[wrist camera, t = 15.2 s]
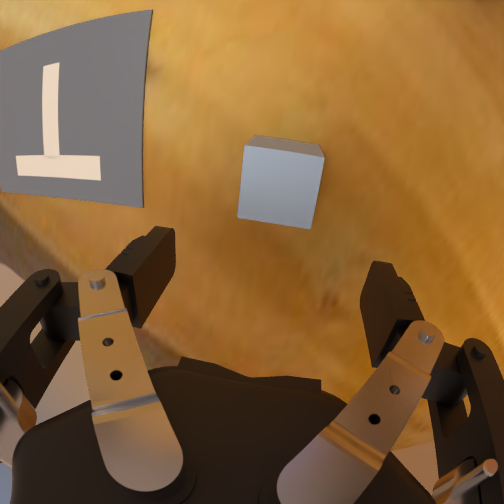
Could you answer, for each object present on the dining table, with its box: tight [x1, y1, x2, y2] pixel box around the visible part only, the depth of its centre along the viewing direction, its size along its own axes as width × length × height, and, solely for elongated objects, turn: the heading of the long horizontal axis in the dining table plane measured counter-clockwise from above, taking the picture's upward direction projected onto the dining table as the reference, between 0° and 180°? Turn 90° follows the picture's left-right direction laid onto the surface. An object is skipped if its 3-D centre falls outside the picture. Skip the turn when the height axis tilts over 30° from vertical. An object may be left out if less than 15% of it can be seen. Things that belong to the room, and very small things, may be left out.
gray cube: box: [237, 135, 325, 230], centre depth 22 cm, size 5×5×5 cm
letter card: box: [0, 10, 153, 208], centre depth 23 cm, size 18×22×1 cm
